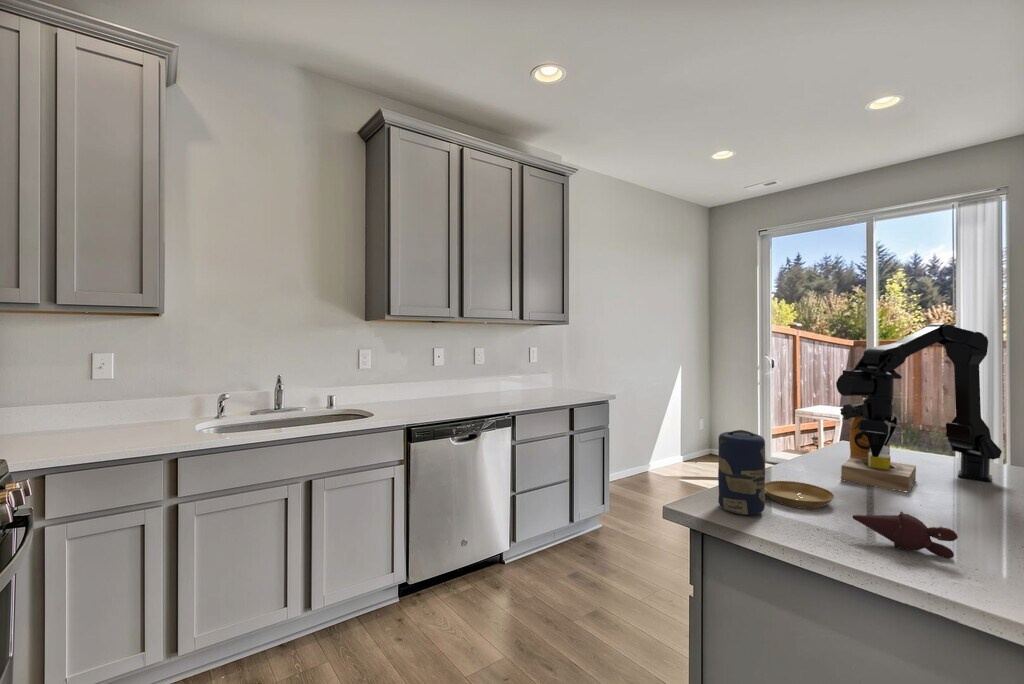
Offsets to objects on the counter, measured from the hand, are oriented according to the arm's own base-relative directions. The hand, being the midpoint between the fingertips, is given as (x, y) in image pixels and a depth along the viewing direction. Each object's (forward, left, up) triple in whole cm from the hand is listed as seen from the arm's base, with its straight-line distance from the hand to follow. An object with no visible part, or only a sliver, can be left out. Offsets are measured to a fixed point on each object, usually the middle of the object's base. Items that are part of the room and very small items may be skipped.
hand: (878, 453), depth 129 cm
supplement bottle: (0, 0, -7) cm, 7 cm away
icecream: (+46, +10, -8) cm, 48 cm away
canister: (+48, -18, -7) cm, 52 cm away
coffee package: (-18, -5, -7) cm, 20 cm away
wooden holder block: (0, 0, -7) cm, 7 cm away
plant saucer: (+32, -11, -8) cm, 35 cm away
